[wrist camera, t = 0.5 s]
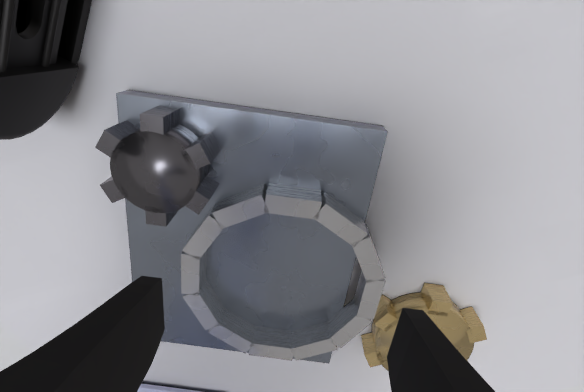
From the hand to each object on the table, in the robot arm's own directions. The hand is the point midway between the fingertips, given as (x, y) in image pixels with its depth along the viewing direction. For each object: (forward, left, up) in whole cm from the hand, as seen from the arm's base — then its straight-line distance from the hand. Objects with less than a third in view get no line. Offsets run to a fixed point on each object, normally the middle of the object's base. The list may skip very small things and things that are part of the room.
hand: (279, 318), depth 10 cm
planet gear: (-9, -10, -10) cm, 16 cm away
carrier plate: (-4, +2, -10) cm, 11 cm away
